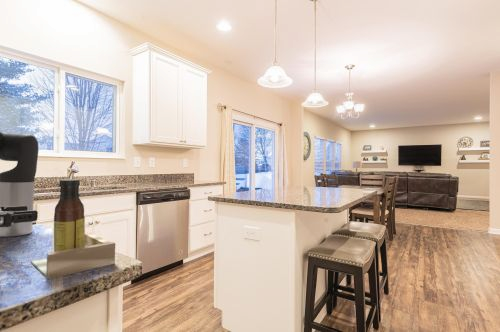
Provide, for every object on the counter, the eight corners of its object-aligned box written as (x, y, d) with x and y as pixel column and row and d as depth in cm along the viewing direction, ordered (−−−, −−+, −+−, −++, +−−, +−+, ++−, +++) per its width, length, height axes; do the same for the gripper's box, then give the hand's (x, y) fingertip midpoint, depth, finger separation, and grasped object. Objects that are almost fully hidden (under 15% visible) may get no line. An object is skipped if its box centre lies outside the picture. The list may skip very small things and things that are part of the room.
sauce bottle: (78, 256, 71) (82, 178, 71) (88, 262, 67) (91, 179, 67) (48, 262, 66) (51, 178, 66) (56, 269, 62) (60, 180, 62)
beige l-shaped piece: (31, 262, 66) (31, 241, 66) (91, 251, 77) (92, 232, 77) (48, 279, 57) (49, 255, 57) (114, 263, 68) (115, 243, 68)
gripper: (-84, 204, 43) (42, 198, 56) (-84, 196, 53) (24, 193, 65) (-86, 252, 43) (40, 235, 56) (-86, 236, 52) (23, 224, 65)
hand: (31, 212), depth 60 cm, fingers open, 8 cm apart
